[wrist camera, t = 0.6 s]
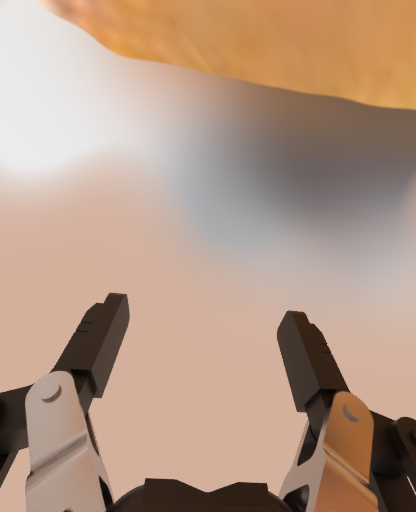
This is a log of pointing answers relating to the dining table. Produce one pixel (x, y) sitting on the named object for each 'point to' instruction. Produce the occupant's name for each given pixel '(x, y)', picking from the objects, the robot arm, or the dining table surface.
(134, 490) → the robot arm
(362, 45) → the dining table surface
